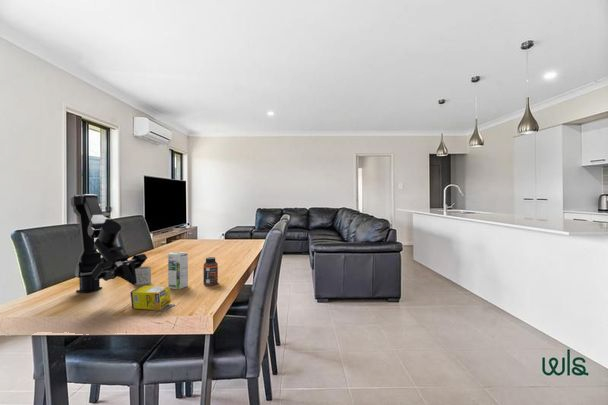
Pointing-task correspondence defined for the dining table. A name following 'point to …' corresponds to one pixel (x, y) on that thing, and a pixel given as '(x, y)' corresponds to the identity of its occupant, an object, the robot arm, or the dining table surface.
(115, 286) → the dining table surface
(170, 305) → the mat
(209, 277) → the supplement bottle
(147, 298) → the supplement box
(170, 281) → the syrup box
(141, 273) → the grey box
